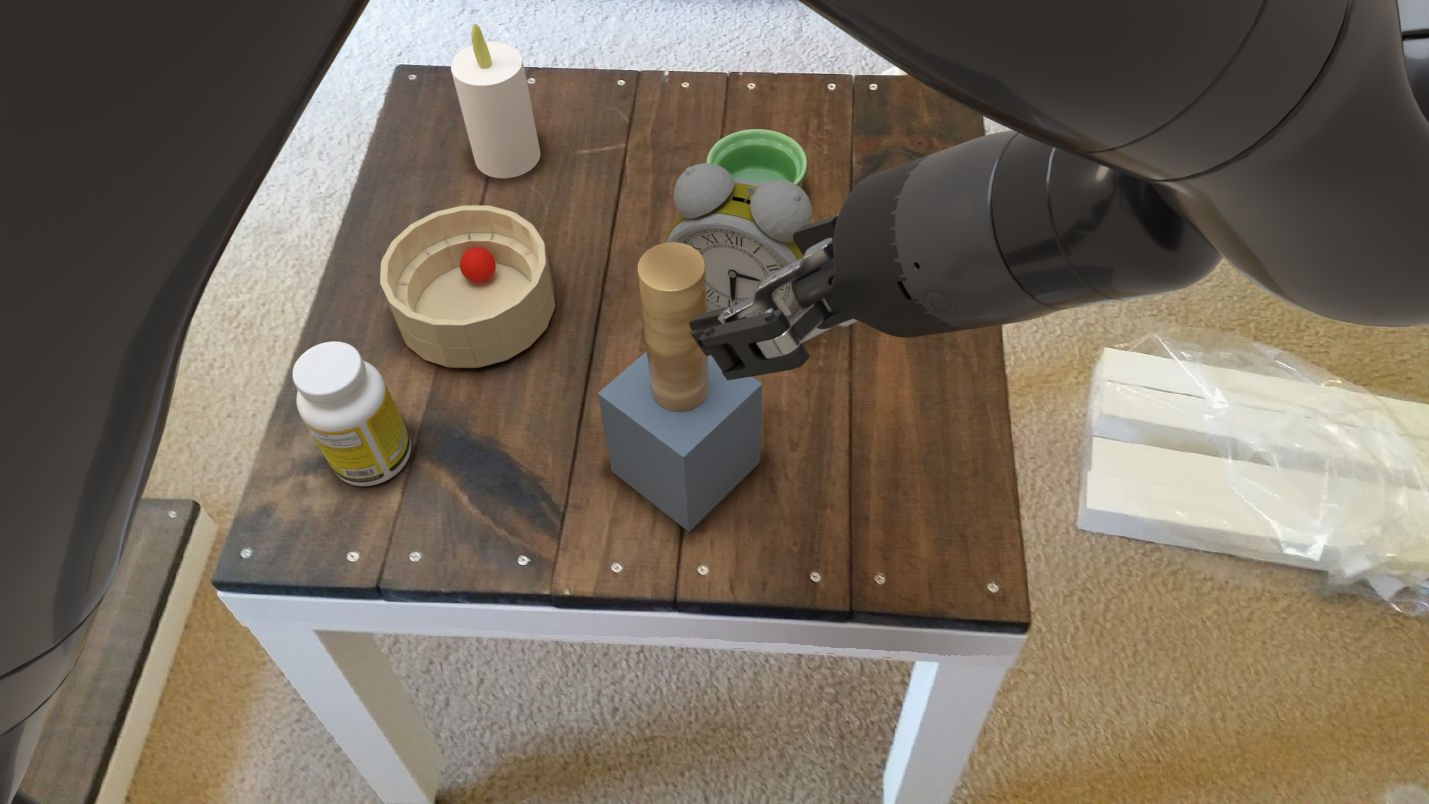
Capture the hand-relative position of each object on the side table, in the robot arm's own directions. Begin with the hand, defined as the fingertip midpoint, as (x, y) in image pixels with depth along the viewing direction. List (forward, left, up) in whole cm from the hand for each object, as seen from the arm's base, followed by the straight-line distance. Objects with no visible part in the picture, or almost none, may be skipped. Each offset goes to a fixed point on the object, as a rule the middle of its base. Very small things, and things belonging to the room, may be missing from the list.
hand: (754, 290), depth 57 cm
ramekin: (+26, +21, -25) cm, 42 cm away
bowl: (0, +30, -24) cm, 39 cm away
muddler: (0, +6, -14) cm, 16 cm away
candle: (+15, +43, -25) cm, 52 cm away
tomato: (+2, +33, -22) cm, 40 cm away
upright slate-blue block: (0, +6, -24) cm, 25 cm away
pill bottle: (-15, +25, -25) cm, 38 cm away
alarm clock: (+15, +13, -25) cm, 32 cm away
